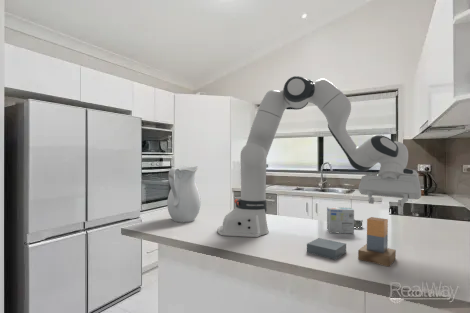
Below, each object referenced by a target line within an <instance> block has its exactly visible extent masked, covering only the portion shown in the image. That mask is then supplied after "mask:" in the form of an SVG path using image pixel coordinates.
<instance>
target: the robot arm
mask: <svg viewBox="0 0 470 313" xmlns="http://www.w3.org/2000/svg"><path fill="white" fill-rule="evenodd" d="M309 103H311V104H313V105H314V106H316V107H317V108H318V109H319V111H320V112H322V114H323V115H324V117H325V118H326V122H327V128H328V130H329V132H330V134H331V135H332V136H333V138H334V139H335V141H336V143H337V144H338V146H340V148H341V150H342V151H343V153H344V154H345V156H346V157H347V160H348V163H349V164H350V165H351V167H352V168H353V169H355V170H357V171H359V172H367V171H369V170H370V169H372V167H374V166H375V165H376V164H378V163H379V165H380V167H379V170H378V174H369V173H368V174H367V173H366V174H365V175H362V176H361V179H360V182H359V185H358V191H359V193H360V195H363V196H365V195H366V196H367V198H368V200H367V202H368V204H372V205H374V202H375V198H374V197H373V196H377V197H386V198H399V199H398V201H397V207H400V208H403V207H404V204H405V203H407V202H408V201H409V199H410V200H420V199H421V197H422V189H421V188H422V187H421V182H420V178H419V174H418V172H417V170H415V169H411V168H408V167H407V166H408V161H409V150H408V147H407V146H406V145H405V144H404V143H403V142H401V141H396V140H395V141H393V139H391V138H390V137H387V136H385V135H383V134H374V135H372V136H371V137H370V138H368V139H367V140H366V141H364V142H363V143H362V144H360V145H359V146H358V145H356V142H354V140H353V138H352V137H351V136H350V134H349V133H348V132H347V122H348V119H349V117H350V115H351V112H352V103H351V101H350V99H349V98H348V97H347V96H346V94H344V93H343V91H341V89H340V88H338V87H337V86H336V85H335V84H334V83H332V82H331V81H329V80H328V79H326V78H320V79H317V80H315V81H313V80H311V79H308V78H306V77H303V76H297V75H296V76H292V77H290V78H288V79H287V81H285V84H284V85H283V89H282V90H277V89H271V90H268V91H267V92H266V93H265V95H264V96H263V97H262V100H261V102H260V105H259V106H258V108H257V112H256V114H255V117H254V119H253V121H252V125H251V127H250V131H249V134H248V137H247V140H246V142H245V145H244V146H243V147H242V149H241V151H240V198H239V199H238V198H236V199H234V203H235V208H234V209H232V210H231V211H229V213H227V214H225V216H224V219H223V221H222V225H220V226H218V228H217V233H218V234H219V235H221V236H230V237H247V238H258V237H260V236H264V235H268V234H269V232H270V231H269V226H268V223H267V222H268V220H267V209H268V201H267V199H266V198H267V197H266V195H267V190H266V188H267V158H268V155H269V152H270V150H271V146H272V144H273V141H274V139H275V136H276V134H277V131H278V128H279V126H280V123H281V120H282V117H283V115H284V113H285V111H286V110H295V111H296V110H302V109H304V108H306V106H307V105H308V104H309Z"/></svg>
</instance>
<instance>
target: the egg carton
mask: <svg viewBox="0 0 470 313" xmlns="http://www.w3.org/2000/svg"><path fill="white" fill-rule="evenodd" d="M363 223H364V221H363V219H362V220H360V219H355V218H354V227H356V228H358V227H359V228H361V226H362V227H363ZM361 229H362V228H361Z"/></svg>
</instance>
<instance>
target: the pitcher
mask: <svg viewBox="0 0 470 313" xmlns="http://www.w3.org/2000/svg"><path fill="white" fill-rule="evenodd" d="M198 169H199V167H198V166H185V165H180V166H178V167H171V168H170V169H169V170H168V184H169V187H170V190H169V193H168V196H167V206H166V207H167V211H168V214H169V216H170V218H171V220H172V221H173V222H176V223H190V222H193V221H195V220H196V218H198V214H199V213H200V210H201V204H202V203H201V202H202V201H201V194H200V190H199V188H198V185H197V182H196V176H195V175H196V172H197V170H198Z"/></svg>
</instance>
